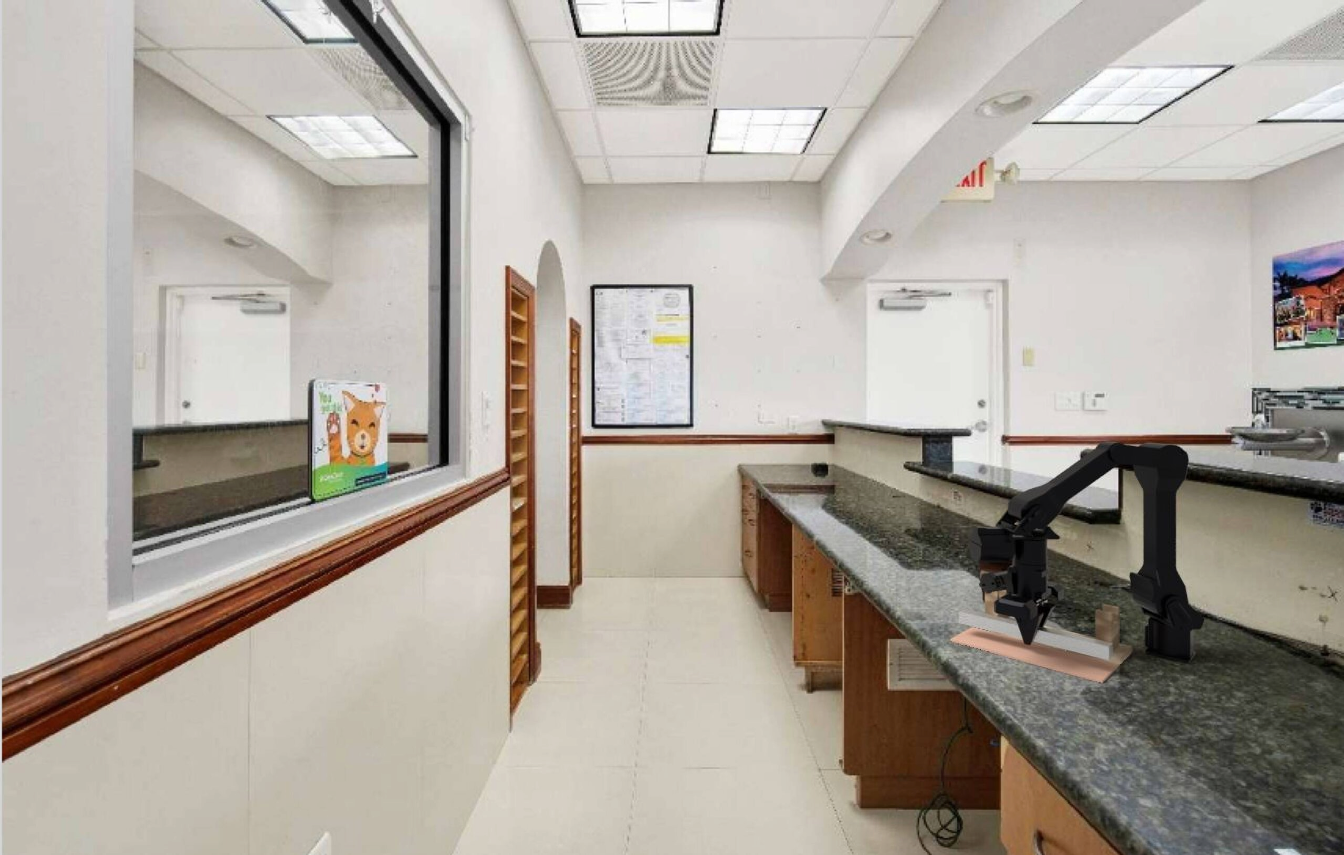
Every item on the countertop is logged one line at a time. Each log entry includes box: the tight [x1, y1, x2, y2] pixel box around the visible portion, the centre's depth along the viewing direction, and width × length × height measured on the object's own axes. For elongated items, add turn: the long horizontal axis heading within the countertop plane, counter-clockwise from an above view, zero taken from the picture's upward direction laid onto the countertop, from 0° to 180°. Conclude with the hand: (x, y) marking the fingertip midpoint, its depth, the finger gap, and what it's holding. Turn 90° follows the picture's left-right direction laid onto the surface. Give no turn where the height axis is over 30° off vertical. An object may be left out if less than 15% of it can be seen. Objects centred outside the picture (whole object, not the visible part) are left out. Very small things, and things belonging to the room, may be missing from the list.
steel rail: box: [958, 608, 1113, 660], centre depth 117 cm, size 26×2×2 cm, turn 41°
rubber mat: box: [949, 626, 1120, 684], centre depth 118 cm, size 26×10×1 cm, turn 41°
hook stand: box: [976, 590, 1133, 665], centre depth 124 cm, size 26×8×9 cm, turn 41°
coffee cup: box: [978, 559, 1013, 603], centre depth 146 cm, size 9×8×13 cm
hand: (1030, 642), depth 118 cm, fingers closed on steel rail, 2 cm apart
